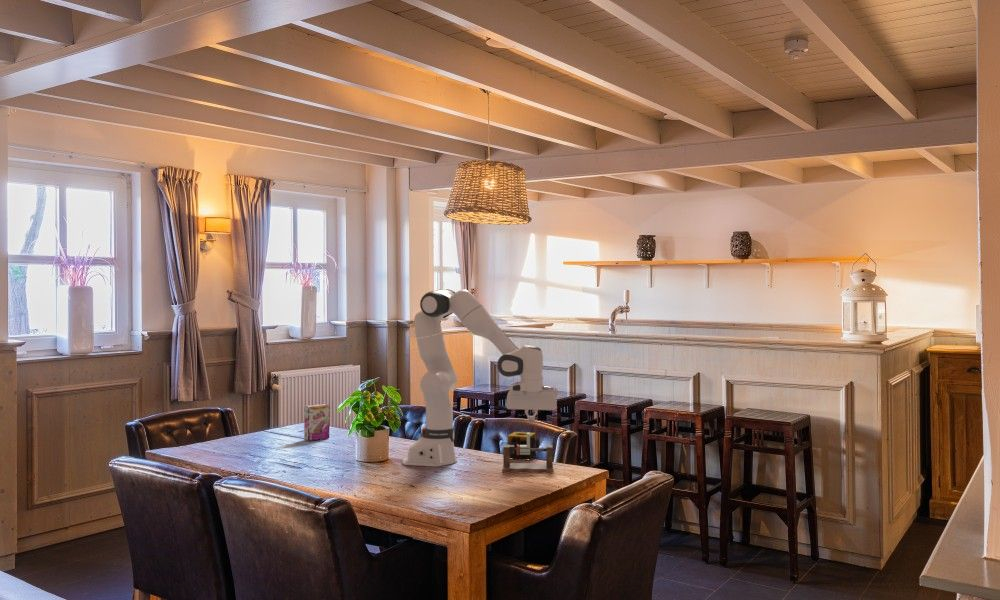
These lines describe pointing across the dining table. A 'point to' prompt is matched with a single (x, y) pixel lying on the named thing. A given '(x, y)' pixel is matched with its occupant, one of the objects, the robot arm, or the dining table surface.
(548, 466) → the rod stand
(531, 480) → the dining table surface
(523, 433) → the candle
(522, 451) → the sleeve
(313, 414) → the candy bar box
